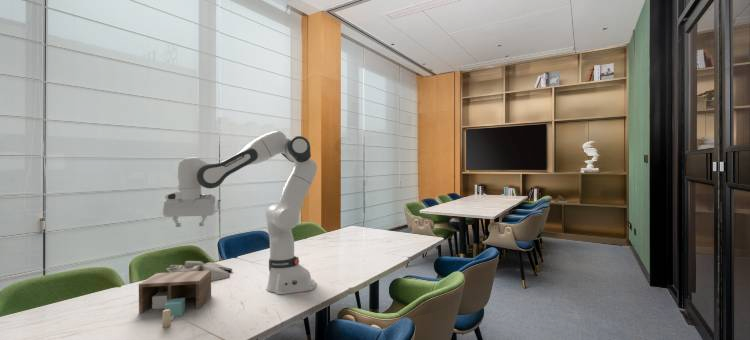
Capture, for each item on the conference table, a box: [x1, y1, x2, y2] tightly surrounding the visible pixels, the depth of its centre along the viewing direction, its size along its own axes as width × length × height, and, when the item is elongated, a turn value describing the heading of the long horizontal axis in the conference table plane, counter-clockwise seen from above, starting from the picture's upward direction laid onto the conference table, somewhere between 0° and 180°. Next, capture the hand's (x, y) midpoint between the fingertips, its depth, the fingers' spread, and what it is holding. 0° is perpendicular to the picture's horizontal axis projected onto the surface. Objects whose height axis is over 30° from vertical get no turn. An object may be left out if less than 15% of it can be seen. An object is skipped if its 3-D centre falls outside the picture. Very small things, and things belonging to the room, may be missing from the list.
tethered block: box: [162, 298, 186, 329], centre depth 123 cm, size 6×14×6 cm, turn 17°
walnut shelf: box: [138, 270, 212, 314], centre depth 137 cm, size 22×14×11 cm, turn 99°
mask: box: [165, 260, 233, 282], centre depth 172 cm, size 20×9×30 cm
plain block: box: [151, 291, 168, 310], centre depth 136 cm, size 6×6×5 cm
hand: (190, 226), depth 144 cm, fingers open, 8 cm apart
